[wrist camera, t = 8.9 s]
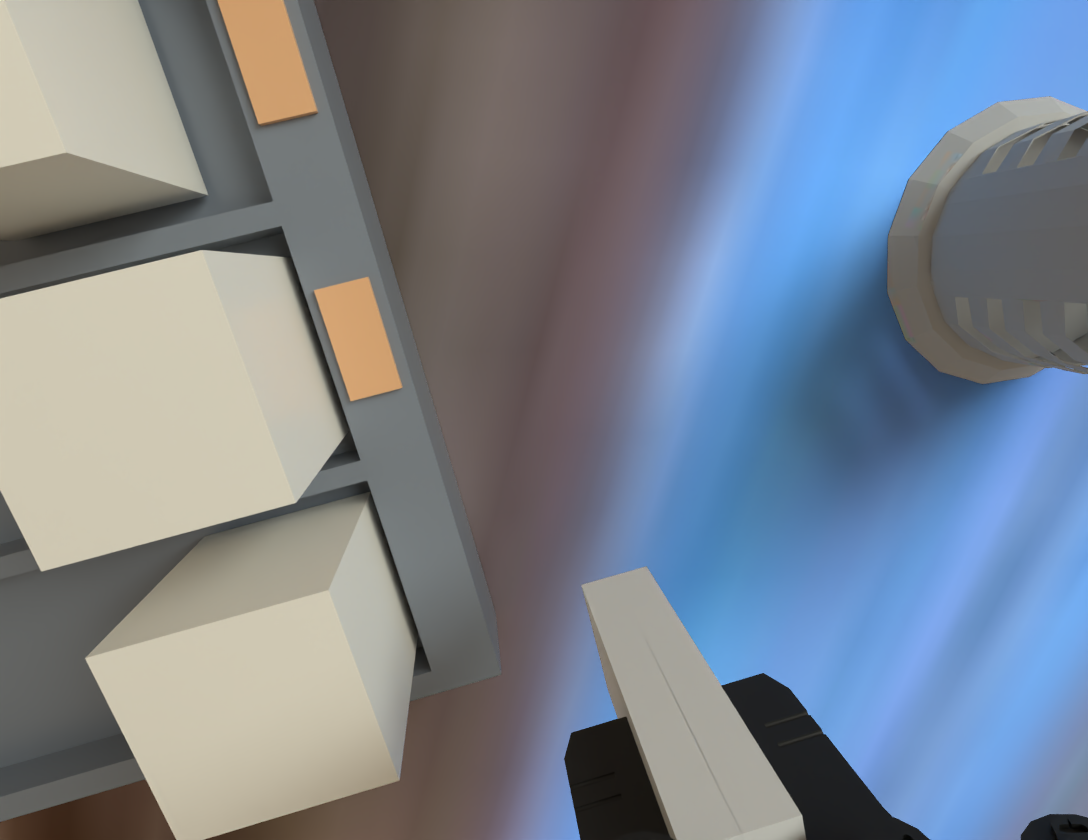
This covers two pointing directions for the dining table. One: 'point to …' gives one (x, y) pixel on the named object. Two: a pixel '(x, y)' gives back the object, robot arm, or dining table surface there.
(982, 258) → the french press
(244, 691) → the tab
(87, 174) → the tab
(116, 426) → the tab
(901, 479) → the dining table surface
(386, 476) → the switch board
